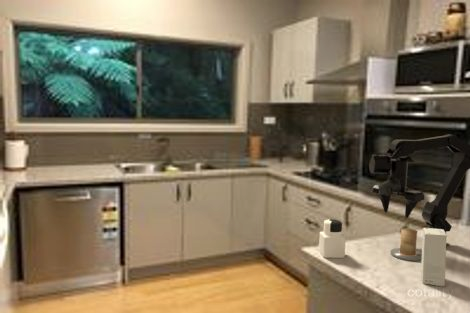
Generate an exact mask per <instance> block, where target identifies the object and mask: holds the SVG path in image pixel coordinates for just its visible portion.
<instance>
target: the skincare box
mask: <svg viewBox="0 0 470 313" xmlns="http://www.w3.org/2000/svg"><path fill="white" fill-rule="evenodd" d="M422 229H423V230H422V243H421V244H422V245H421V252H422V261H420V262H421V265H420V266H421V267H420V268H421V269H420V275H421V280H422V284H424V285H425V284H426V285H431V286H437V287H441V288H442V287H445V282H446V281H445V279H446V261H447V260H446V257H447V254H446V253H447V246H446V243H447V236H448V235H447V232H446V233H445V231H444V230H443V229H433V228H429V227H423V228H422Z"/></svg>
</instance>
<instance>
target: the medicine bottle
mask: <svg viewBox="0 0 470 313" xmlns="http://www.w3.org/2000/svg"><path fill="white" fill-rule="evenodd" d="M342 230H343V222H342V221H340V220H339V219H338V220H337V219H334V218H333V219H332V218H329V219H325V220H324V221H323V231H319V241H318V251H319V252H320V253H319V254H321V256H322V257H323V259H345V256H346V237H345V236H344V234H342V233H343V232H342Z"/></svg>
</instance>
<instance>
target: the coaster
mask: <svg viewBox="0 0 470 313" xmlns="http://www.w3.org/2000/svg"><path fill="white" fill-rule="evenodd" d="M390 255H391V256H392V257H394V258H395V259H399V260H402V261H406V262H407V261H408V262H421V261H422V251H419V250H417V249H416V254H415V255H413V256H409V255H404V254H401V253H400V247H397V248H396V247H395V248H392V249H391V250H390Z"/></svg>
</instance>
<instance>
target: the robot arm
mask: <svg viewBox="0 0 470 313" xmlns="http://www.w3.org/2000/svg"><path fill="white" fill-rule="evenodd" d="M443 147H447V148H448V149H449V150H450V151H451V152H452V153H453V158H452V167H451V169H450V170H449V172H448V174H447V176H446V178H445V180H444V182H443V184H442V185H441V187H440V189H439V190H438V192H437V195H436V196H435V198H434V199H433V200H432V201H431V202H430V201H426V202H425V204H424V206H423V208H422V209H421V217H422V219H423V221H425V225H426V226H428V228H433V229H443V230H444V231H445V233H446V234H447V232H451V229H452V225H451V224H450V223H449V221H448V220H447V216H448V213H449V212H448V209H449V207H448V206H449V204H450V202H451V200H452V199H453V197H454V195H455V193H456V191H457V189H458V187H459V186H460V184H461V182H462V180H463V179H464V176H465V175H466V174H467V171H469V170H470V144H469V143H467V142H466V141H464V140H462V139H461V138H459V137H458V136H457V135H455V134H445V135H441V136H434V137H428V138H420V139H394V140H392V142H391V143H390V145H389V147H388V149H387V150H386V152H384V154H382V155H381V154H380V155H377V154H372V155H371V159H370V160H369V163H368V169H369V172H370V174H388V173H389V172H390V175H387V178H386V180H385V181H383V182H381V183H380V184H375V185H373V186H372V193H374V195H375V196H378V197H377V198H379V199H380V201H381V202H380V203H381V204H382V205H381V206H382V207H383V208H382V210H383V212H384V213H388V211H389V205H390V200H391V195H397V196H401V197H404V198H405V199H403V201H404V203H405V214H404V215H405V217H404V218H405V219H408V218H409V217H410V215H412V214H411V213H412V212H413V210H414V209H415V207H416V206H417V204H418V203H420V202H422V201H425V196H426V195H425V194H424V192H423V191H419V190H409V187H407V181H409V180H410V176H408V167H409V166H408V165H409V164H408V163H414V162H415V160H414V159H413V158H412V157H411V155H412V154H414V153H417V152H419V151H423V150H424V151H425V150H431V149H437V148H443ZM447 246H450V243H449V242H448V243H447V242H446V247H447Z"/></svg>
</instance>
